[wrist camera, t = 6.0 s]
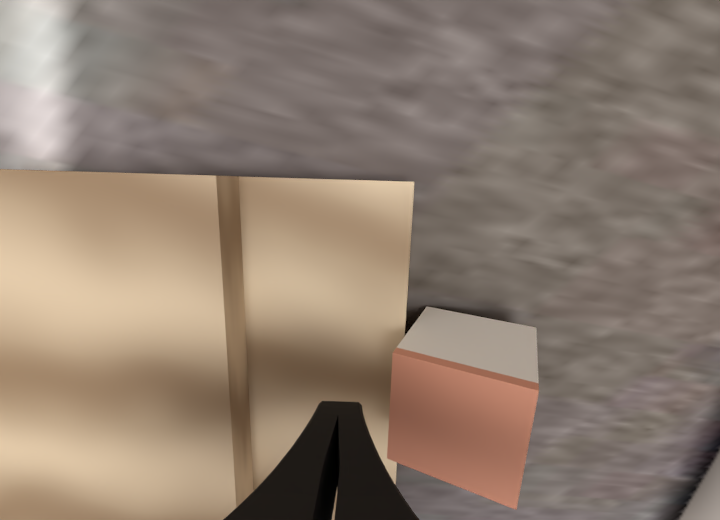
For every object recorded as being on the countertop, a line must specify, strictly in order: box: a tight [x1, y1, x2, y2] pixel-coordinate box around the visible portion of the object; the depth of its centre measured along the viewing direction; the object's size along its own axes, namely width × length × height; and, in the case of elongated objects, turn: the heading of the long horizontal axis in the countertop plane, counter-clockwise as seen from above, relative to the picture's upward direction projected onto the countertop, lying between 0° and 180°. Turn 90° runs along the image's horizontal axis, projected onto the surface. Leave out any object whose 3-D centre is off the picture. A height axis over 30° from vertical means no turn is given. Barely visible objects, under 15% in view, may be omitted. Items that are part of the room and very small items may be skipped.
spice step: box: [0, 169, 414, 520], centre depth 15 cm, size 16×16×4 cm
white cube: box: [387, 307, 539, 509], centre depth 13 cm, size 4×4×4 cm
